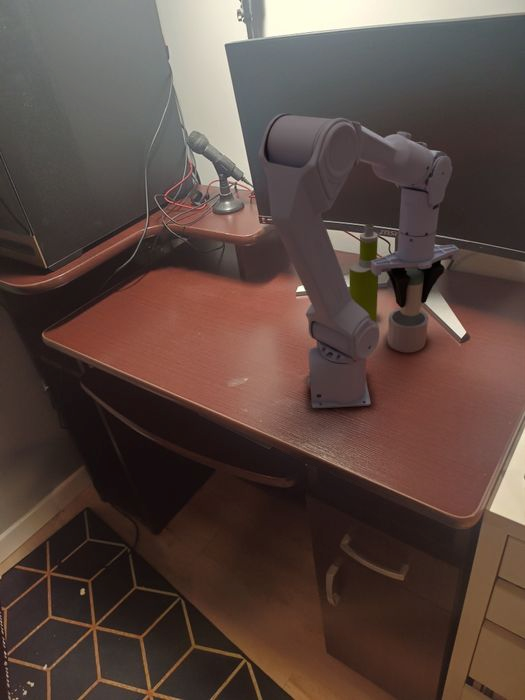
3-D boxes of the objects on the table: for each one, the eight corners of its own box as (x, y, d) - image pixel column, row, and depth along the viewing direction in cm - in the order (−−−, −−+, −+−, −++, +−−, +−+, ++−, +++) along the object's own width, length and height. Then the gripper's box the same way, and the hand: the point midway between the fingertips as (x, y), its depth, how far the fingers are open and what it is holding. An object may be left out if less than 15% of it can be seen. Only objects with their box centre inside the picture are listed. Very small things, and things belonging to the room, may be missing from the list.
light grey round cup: (391, 353, 85) (392, 329, 82) (384, 332, 90) (386, 308, 87) (429, 351, 84) (432, 326, 81) (420, 330, 90) (423, 306, 86)
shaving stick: (405, 318, 81) (408, 280, 77) (396, 308, 84) (399, 271, 79) (423, 314, 81) (428, 276, 77) (414, 304, 84) (418, 267, 80)
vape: (379, 318, 94) (384, 224, 83) (360, 330, 92) (362, 235, 80) (365, 311, 97) (368, 220, 85) (346, 323, 94) (346, 230, 82)
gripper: (384, 247, 70) (380, 322, 78) (474, 230, 71) (461, 305, 79) (366, 230, 75) (365, 301, 83) (450, 214, 77) (440, 286, 85)
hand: (410, 302), depth 82 cm, fingers closed on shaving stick, 3 cm apart
